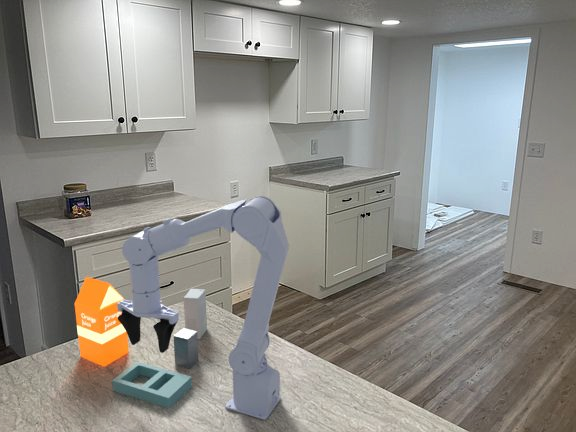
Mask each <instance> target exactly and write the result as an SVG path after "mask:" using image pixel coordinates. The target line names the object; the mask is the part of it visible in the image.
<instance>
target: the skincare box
mask: <svg viewBox="0 0 576 432" xmlns="http://www.w3.org/2000/svg"><path fill="white" fill-rule="evenodd" d="M206 294H207V293H206V289H202V288H201V289H199V288H190V289H189V290H188V292H187V293H186V294H185V295H184V297H183V311H184V326H185V327H184V328H185V329H189V330H193V331H197V334H198V340H201V339H202V338H203V336H204V335H205V333H206V331H207V330H208V323H207V322H208V319H207V318H208V317H207V300H206V299H207V297H206Z"/></svg>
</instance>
